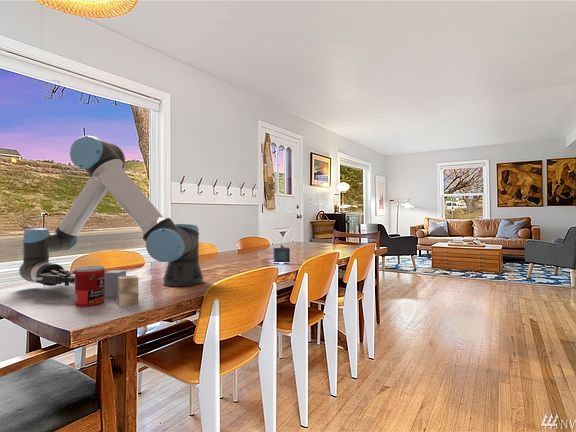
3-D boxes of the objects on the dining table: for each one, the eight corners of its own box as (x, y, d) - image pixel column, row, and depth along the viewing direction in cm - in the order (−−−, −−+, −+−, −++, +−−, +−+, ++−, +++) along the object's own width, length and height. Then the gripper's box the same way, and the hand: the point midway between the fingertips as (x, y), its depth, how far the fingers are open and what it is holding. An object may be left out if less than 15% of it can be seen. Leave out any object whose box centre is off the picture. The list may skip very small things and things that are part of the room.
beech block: (135, 300, 107) (135, 275, 107) (138, 304, 103) (138, 277, 103) (118, 302, 105) (118, 276, 105) (120, 306, 100) (120, 279, 100)
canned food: (91, 307, 99) (91, 269, 99) (68, 306, 101) (68, 269, 101) (110, 301, 106) (110, 266, 106) (88, 300, 108) (88, 265, 108)
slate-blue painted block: (126, 293, 117) (126, 270, 117) (118, 297, 112) (118, 272, 112) (111, 293, 117) (111, 270, 117) (103, 296, 112) (103, 272, 112)
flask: (272, 264, 189) (272, 244, 189) (273, 263, 192) (273, 244, 192) (289, 264, 188) (289, 244, 188) (290, 263, 191) (290, 244, 191)
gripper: (68, 281, 124) (103, 289, 111) (26, 287, 113) (59, 297, 100) (68, 261, 124) (103, 266, 111) (26, 265, 113) (59, 271, 100)
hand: (82, 280), depth 106 cm, fingers closed
